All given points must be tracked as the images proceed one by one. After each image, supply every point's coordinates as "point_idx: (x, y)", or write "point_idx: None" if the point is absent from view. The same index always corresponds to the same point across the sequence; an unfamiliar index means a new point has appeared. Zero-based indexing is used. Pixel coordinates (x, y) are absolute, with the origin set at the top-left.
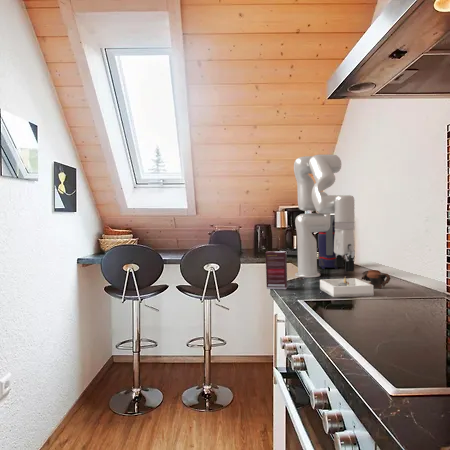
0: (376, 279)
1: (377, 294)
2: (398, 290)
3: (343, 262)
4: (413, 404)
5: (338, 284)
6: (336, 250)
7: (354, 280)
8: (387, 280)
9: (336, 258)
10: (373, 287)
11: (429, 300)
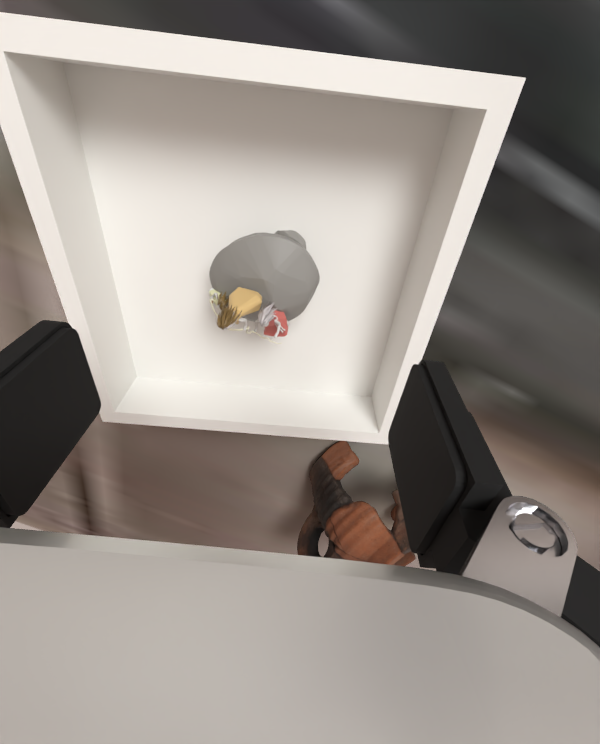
0: (325, 513)
1: None
2: (250, 509)
3: (397, 482)
4: None
5: (282, 237)
6: (236, 733)
7: (378, 421)
8: (299, 537)
9: (466, 469)
10: (317, 460)
11: (46, 504)
